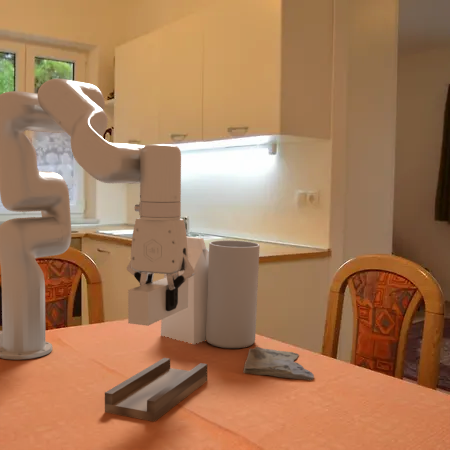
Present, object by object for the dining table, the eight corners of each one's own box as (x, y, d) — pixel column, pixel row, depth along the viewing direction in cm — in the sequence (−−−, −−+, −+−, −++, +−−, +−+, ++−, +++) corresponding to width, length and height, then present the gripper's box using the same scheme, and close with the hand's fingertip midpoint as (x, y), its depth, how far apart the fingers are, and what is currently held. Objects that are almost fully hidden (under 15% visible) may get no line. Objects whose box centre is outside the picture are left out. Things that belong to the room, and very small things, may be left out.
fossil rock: (247, 354, 140) (248, 345, 140) (311, 358, 138) (311, 348, 138) (241, 379, 122) (241, 368, 122) (313, 383, 121) (313, 372, 121)
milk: (223, 335, 154) (225, 237, 152) (193, 344, 146) (194, 240, 144) (191, 327, 162) (191, 234, 160) (160, 335, 154) (161, 237, 151)
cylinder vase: (196, 337, 150) (200, 241, 147) (237, 332, 156) (241, 239, 154) (222, 352, 139) (226, 248, 137) (264, 345, 146) (269, 246, 143)
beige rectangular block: (128, 323, 104) (128, 289, 103) (170, 305, 118) (170, 276, 118) (148, 325, 102) (148, 291, 102) (188, 307, 117) (188, 277, 116)
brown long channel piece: (104, 411, 103) (104, 392, 103) (163, 374, 123) (164, 357, 123) (154, 421, 99) (154, 401, 99) (207, 380, 120) (207, 364, 119)
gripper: (110, 210, 108) (111, 308, 110) (192, 214, 102) (191, 317, 104) (132, 209, 115) (132, 300, 117) (209, 212, 109) (208, 308, 110)
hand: (160, 307), depth 110 cm, fingers closed on beige rectangular block, 4 cm apart
